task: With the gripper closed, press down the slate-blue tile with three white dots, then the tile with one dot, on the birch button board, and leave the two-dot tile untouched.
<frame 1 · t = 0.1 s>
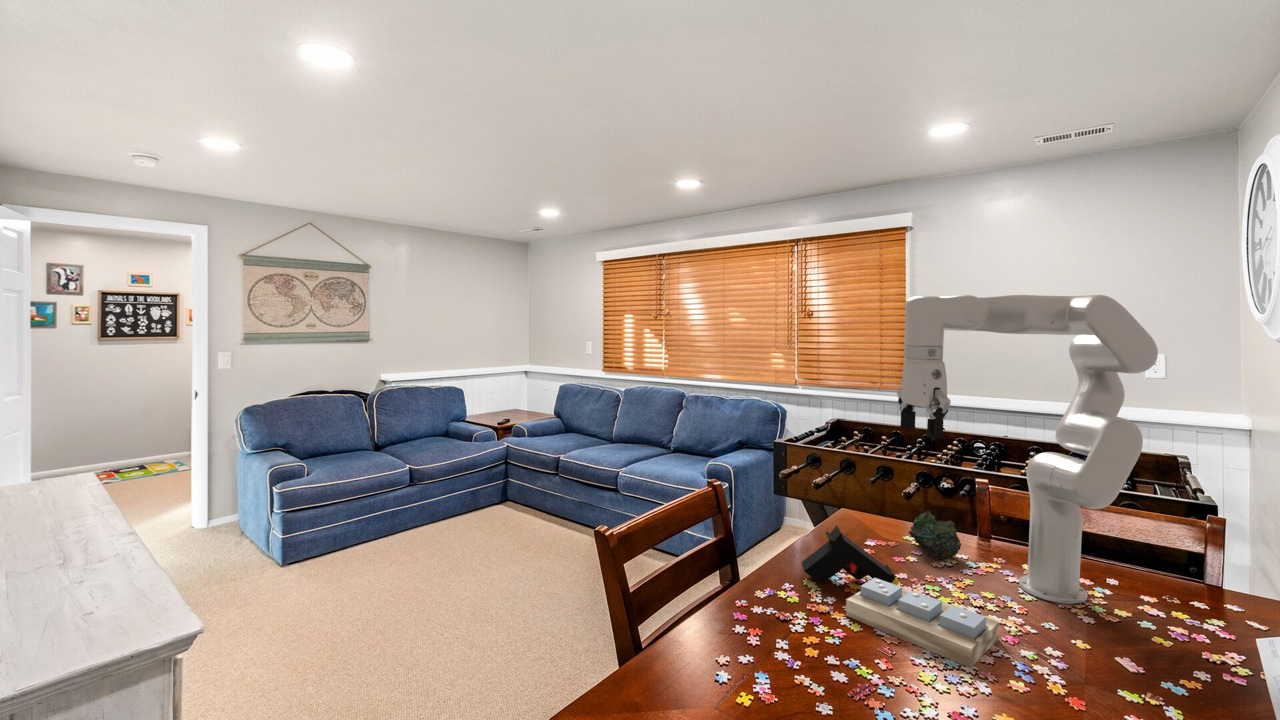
hand: (920, 433, 124), 37 cm above the table, tool pointing down, fingers open, 9 cm apart
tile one: (962, 621, 109), point 4 cm above the table, slide at 0.0 cm
rock: (928, 552, 153), on the table
board: (919, 626, 115), on the table
tile three: (881, 591, 121), point 4 cm above the table, slide at 0.0 cm
toy gun: (848, 582, 136), on the table
tile two: (919, 606, 115), point 4 cm above the table, slide at 0.0 cm
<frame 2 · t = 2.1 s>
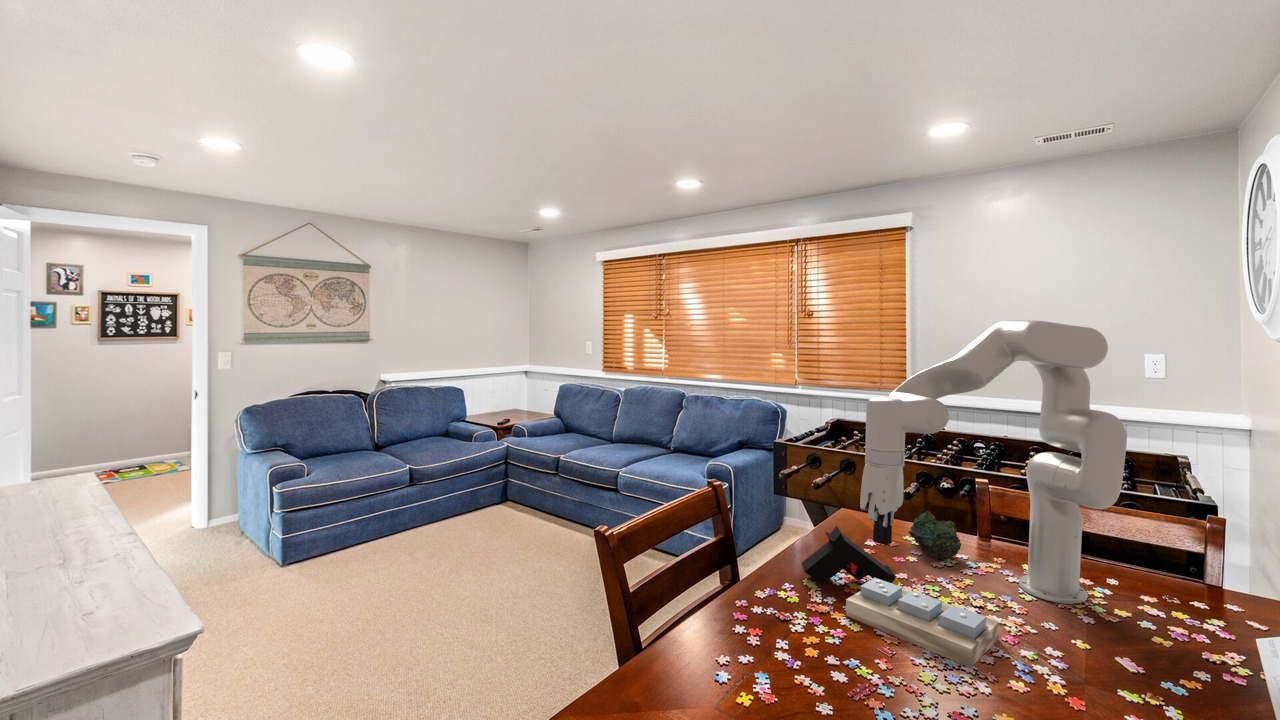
hand: (882, 542, 120), 15 cm above the table, tool pointing down, fingers closed
nothing on the table moved.
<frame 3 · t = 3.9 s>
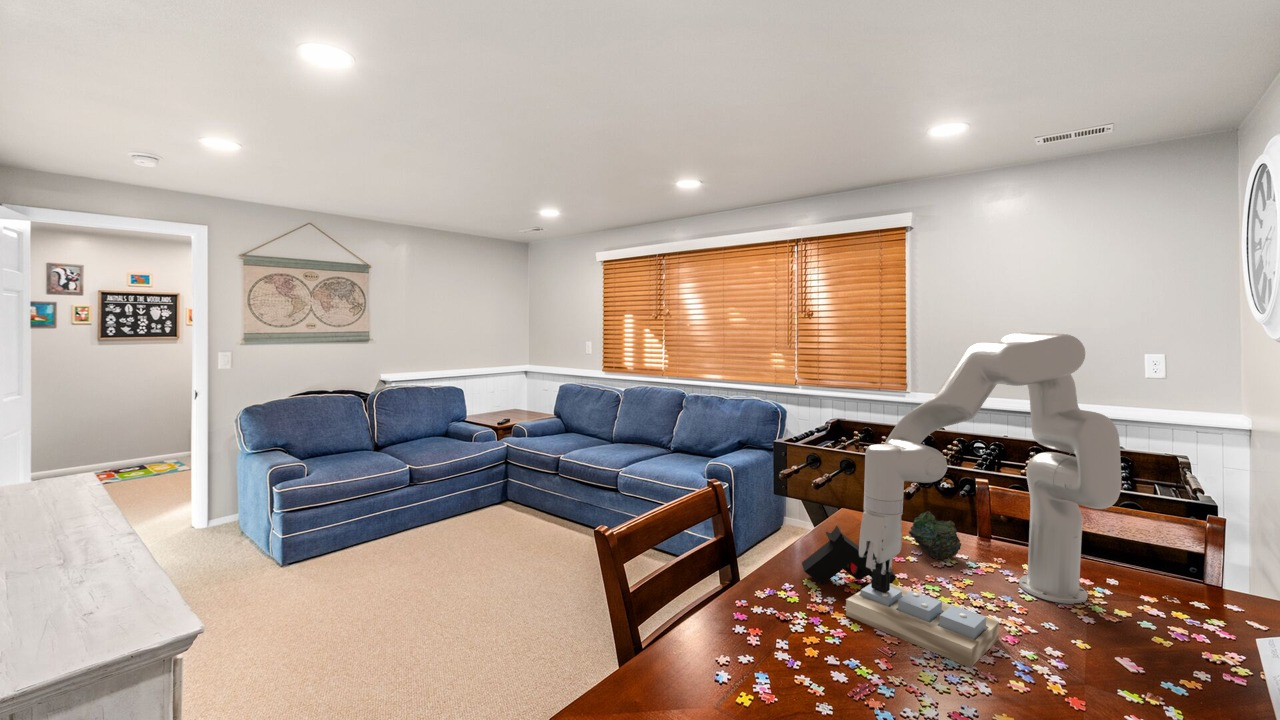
hand: (880, 589, 121), 5 cm above the table, tool pointing down, fingers closed
tile three: (881, 595, 121), point 4 cm above the table, slide at 0.8 cm, touching gripper
everything else where it was.
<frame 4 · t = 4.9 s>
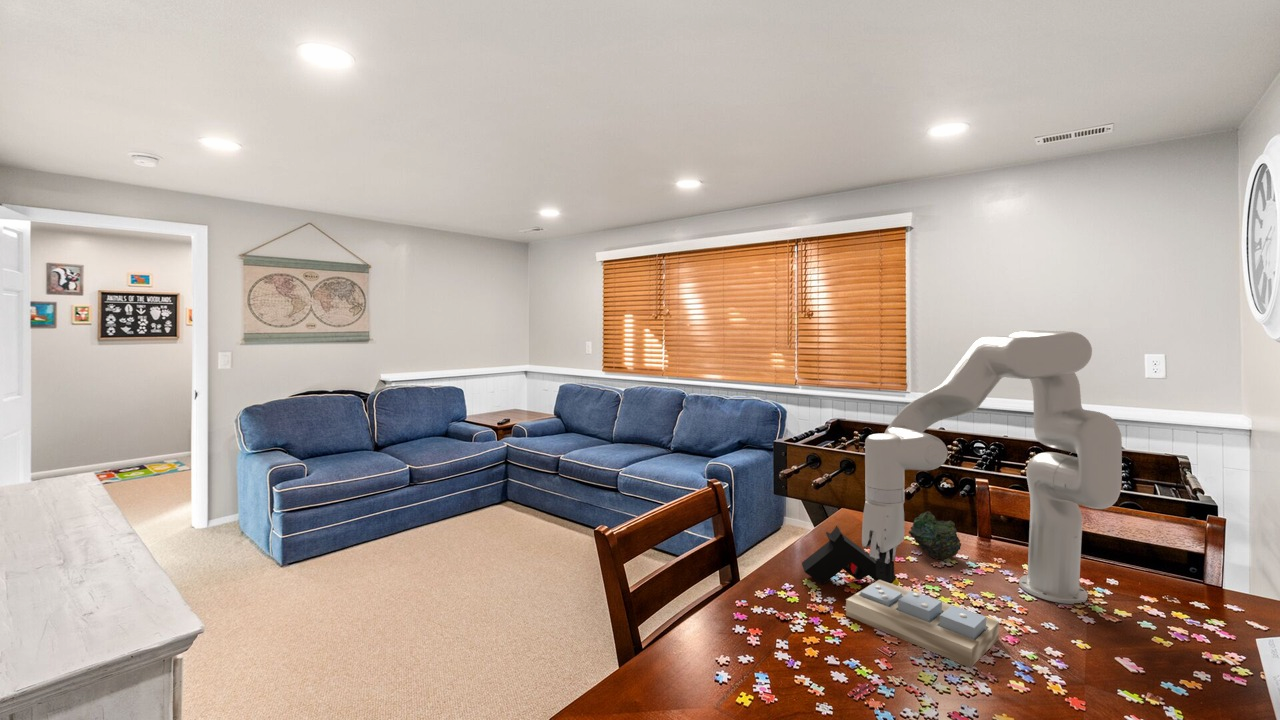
hand: (885, 578, 121), 7 cm above the table, tool pointing down, fingers closed
tile three: (881, 597, 121), point 3 cm above the table, slide at 1.3 cm
everything else where it was.
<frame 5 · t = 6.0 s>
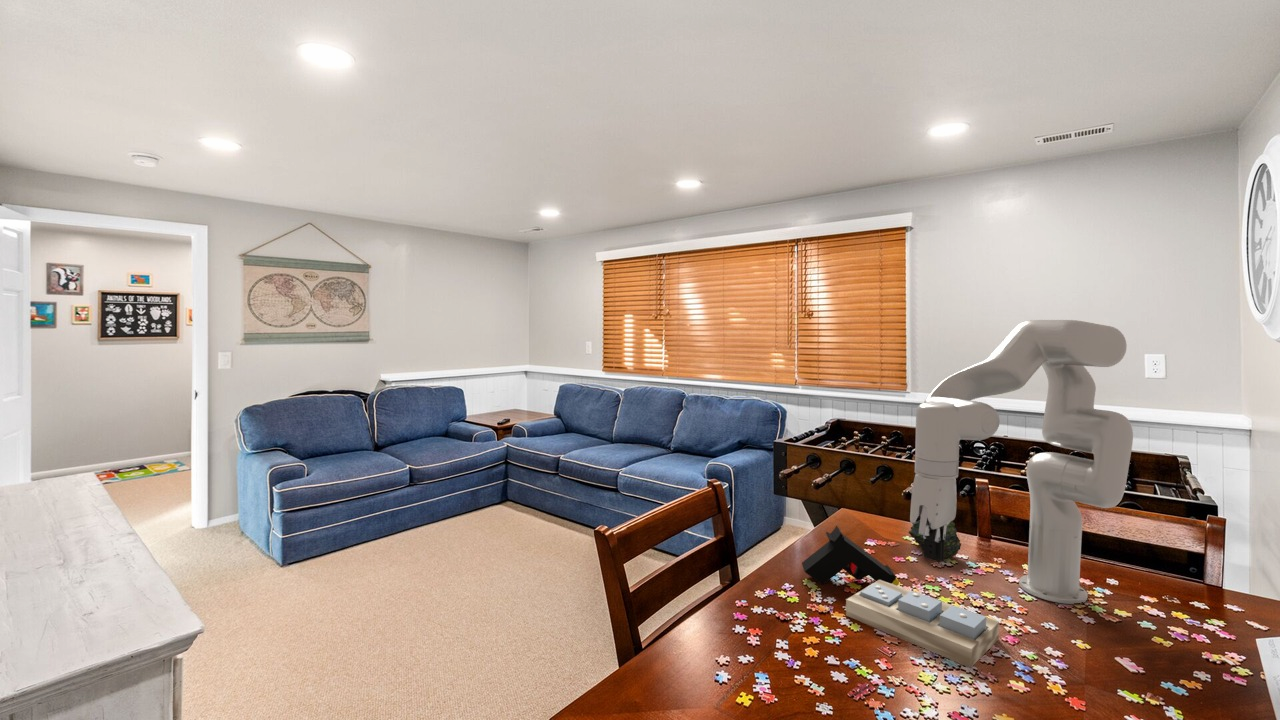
hand: (933, 558, 113), 15 cm above the table, tool pointing down, fingers closed
nothing on the table moved.
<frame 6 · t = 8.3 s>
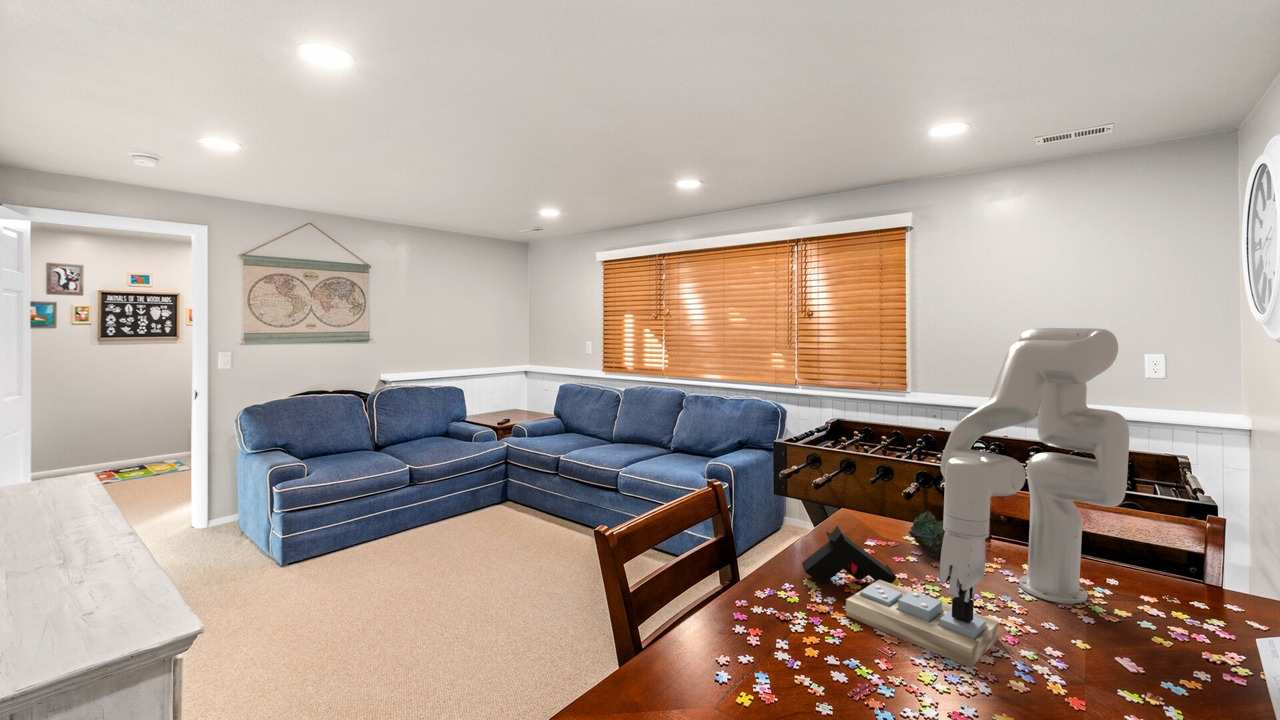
hand: (962, 618, 109), 5 cm above the table, tool pointing down, fingers closed
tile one: (962, 625, 109), point 4 cm above the table, slide at 0.7 cm, touching gripper
everything else where it was.
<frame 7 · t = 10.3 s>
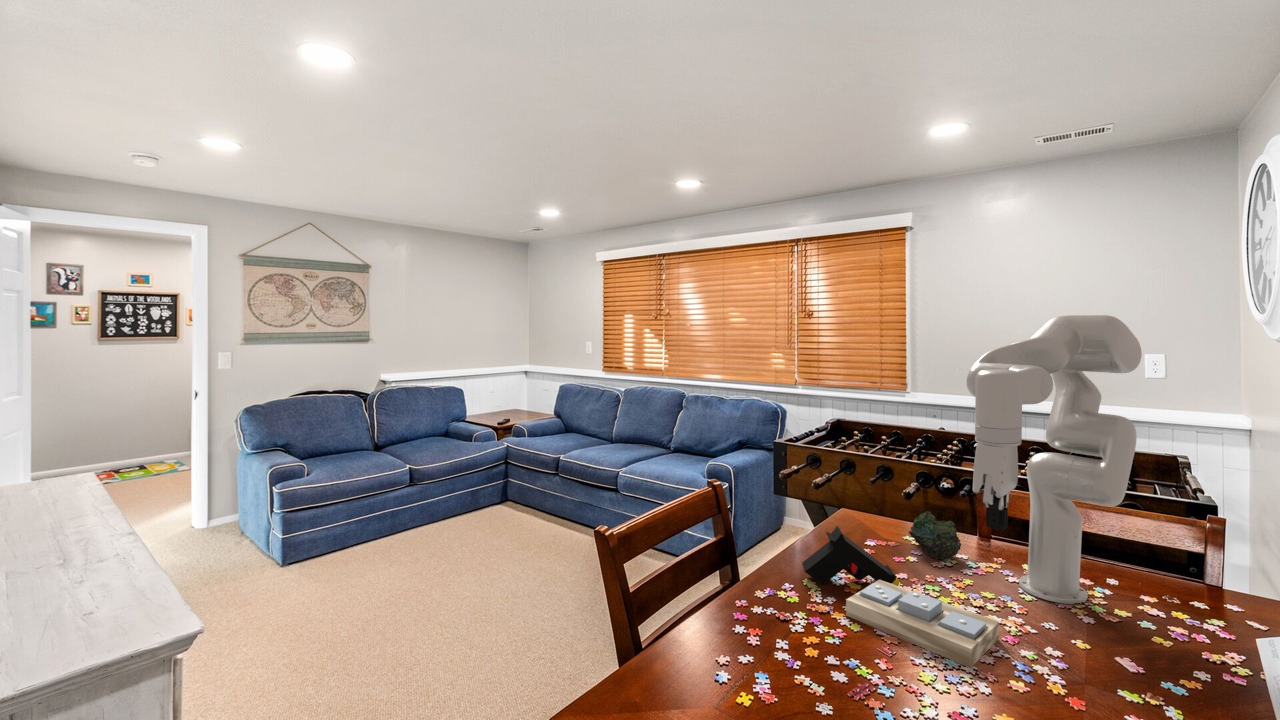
hand: (996, 527, 111), 22 cm above the table, tool pointing down, fingers closed
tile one: (962, 628, 109), point 3 cm above the table, slide at 1.2 cm
everything else where it was.
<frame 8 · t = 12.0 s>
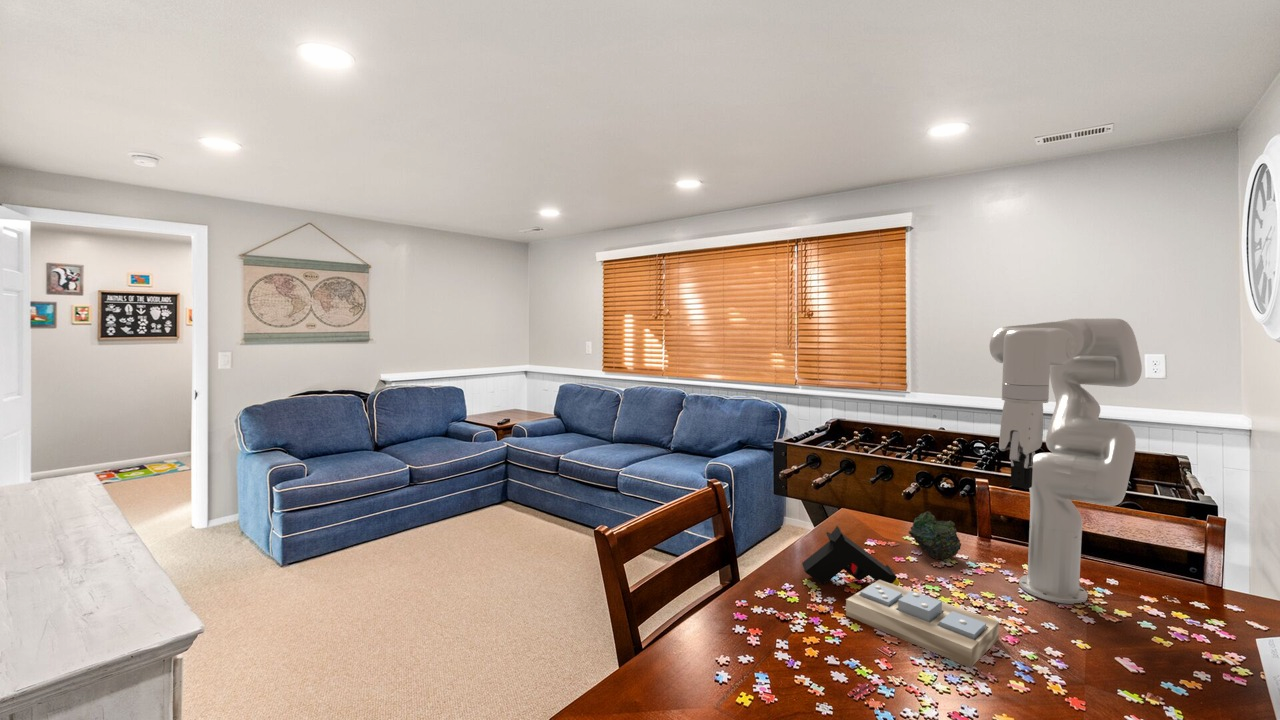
hand: (1021, 486, 112), 29 cm above the table, tool pointing down, fingers closed
nothing on the table moved.
at the end: tile three slide at 1.3 cm; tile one slide at 1.2 cm; tile two slide at 0.0 cm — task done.
